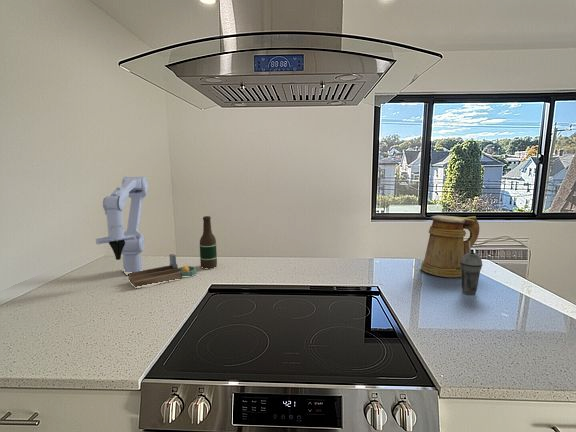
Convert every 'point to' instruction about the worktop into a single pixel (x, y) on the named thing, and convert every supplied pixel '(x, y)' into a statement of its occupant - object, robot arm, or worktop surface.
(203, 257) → the beer bottle
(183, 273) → the teal shallow dish
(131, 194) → the robot arm
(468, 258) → the beverage cup
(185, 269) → the ball
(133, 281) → the brown wooden moulding block
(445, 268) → the tankard
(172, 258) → the gray l-shaped bracket
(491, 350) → the worktop surface
